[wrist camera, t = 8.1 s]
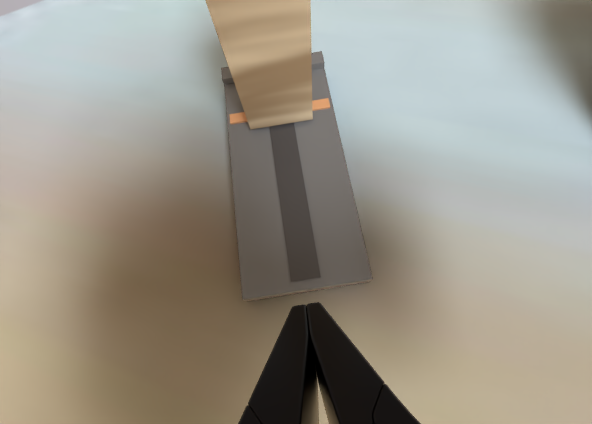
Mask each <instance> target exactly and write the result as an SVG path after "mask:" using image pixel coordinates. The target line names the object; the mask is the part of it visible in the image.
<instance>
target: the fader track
mask: <svg viewBox="0 0 592 424" xmlns="http://www.w3.org/2000/svg"><path fill="white" fill-rule="evenodd" d="M311 60H312V111H313V119H312V120H306V121H300V122H294V123H287V124H281V125H275V126H269V127H263V128H257V129H250V126H249V124H248V121H247V118H246V115H245V112H244V109H243V106H242V103H241V101H240V98H239V95H238V92H237V89H236V86H235V83H234V81H233V78H232V75H231V72H230V69H229V67H225V68H221V70H222V80H223V83H224V86H225V98H226V110H227V122H228V134H229V146H230V158H231V169H232V181H233V193H234V205H235V217H236V229H237V241H238V253H239V264H240V276H241V288H242V300H246V301H253V300H259V299H265V298H272V297H278V296H284V295H291V294H297V293H303V292H310V291H316V290H322V289H329V288H335V287H341V286H347V285H354V284H360V283H366V282H369V281H371V280H372V279H373V278H372V273H371V269H370V265H369V260H368V256H367V252H366V247H365V243H364V239H363V234H362V230H361V226H360V221H359V217H358V213H357V208H356V204H355V200H354V195H353V191H352V187H351V182H350V178H349V174H348V169H347V165H346V161H345V156H344V152H343V148H342V143H341V139H340V135H339V130H338V126H337V122H336V117H335V113H334V109H333V104H332V100H331V96H330V91H329V87H328V83H327V78H326V74H325V70H324V59H323V55H322V51H320V52H314V53H311Z"/></svg>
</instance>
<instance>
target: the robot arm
mask: <svg viewBox="0 0 592 424" xmlns="http://www.w3.org/2000/svg"><path fill="white" fill-rule="evenodd" d="M316 372H317V373H316ZM317 378H318V382H317ZM318 383H319V387H320V391H321V395H322V399H323V403H324V406H325V410H326V414H327V418H328V422H329V424H421V423H420V422H419V421H418V420H417V419H416V418H415V417H414V416H413V415H412V414H411V413H410V412H409V411H408V410H407V408H406V407H405V406H404V405H403V404H402V403H401V401H400V400H399V399H398V398H397V397H396V396H395V394H394V393H393V392H392V391H391V389H390V388H389V387H388V386H387V385H386V384H384V381H383V380H382V379H381V377H380V376H379V375H378V374H377V372H376V371H375V370H374V369H373V368H372V366H371V365H370V364H369V363H368V361H367V360H366V359H365V358H364V356H363V355H362V354H361V353H360V351H359V350H358V349H357V348H356V347H355V345H354V344H353V343H352V342H351V340H350V339H349V338H348V337H347V335H346V334H345V333H344V332H343V331H342V329H341V328H340V327H339V326H338V324H337V323H336V322H335V321H334V319H333V318H332V317H331V316H330V315H329V313H328V312H327V311H326V310H325V308H324V307H323V306H322V305H321V304H320V303H319V302H317V303H311V304H307V306H306V305H298V306H293V307H292V309H291V311H290V313H289V315H288V317H287V319H286V322H285V324H284V326H283V328H282V330H281V332H280V335H279V337H278V339H277V341H276V343H275V345H274V348H273V350H272V352H271V354H270V356H269V358H268V361H267V363H266V365H265V367H264V369H263V371H262V374H261V376H260V378H259V380H258V382H257V384H256V387H255V389H254V391H253V393H252V395H251V398H250V400H249V402H248V406H246V408H245V410H244V412H243V415H242V417H241V419H240V421H239V423H238V424H319V411H318Z"/></svg>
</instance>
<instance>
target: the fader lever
mask: <svg viewBox="0 0 592 424" xmlns="http://www.w3.org/2000/svg"><path fill="white" fill-rule="evenodd" d="M206 3H207V6H208V9H209V12H210V15H211V17H212V20H213V23H214V26H215V29H216V32H217V35H218V37H219V40H220V43H221V46H222V49H223V52H224V55H225V58H226V60H227V63H228V66H229V69H230V72H231V75H232V78H233V81H234V83H235V86H236V89H237V92H238V95H239V98H240V101H241V103H242V106H243V109H244V112H245V115H246V118H247V121H248V124H249V126H250V129H257V128H263V127H269V126H275V125H281V124H287V123H294V122H300V121H306V120H312V119H313V111H312V60H311V10H310V0H206Z"/></svg>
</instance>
